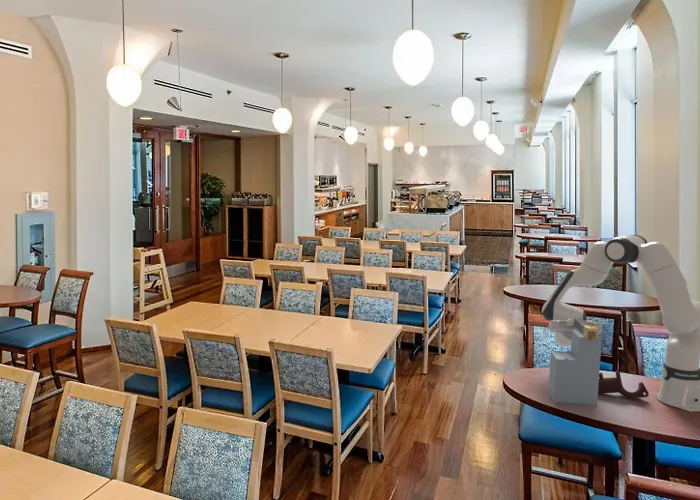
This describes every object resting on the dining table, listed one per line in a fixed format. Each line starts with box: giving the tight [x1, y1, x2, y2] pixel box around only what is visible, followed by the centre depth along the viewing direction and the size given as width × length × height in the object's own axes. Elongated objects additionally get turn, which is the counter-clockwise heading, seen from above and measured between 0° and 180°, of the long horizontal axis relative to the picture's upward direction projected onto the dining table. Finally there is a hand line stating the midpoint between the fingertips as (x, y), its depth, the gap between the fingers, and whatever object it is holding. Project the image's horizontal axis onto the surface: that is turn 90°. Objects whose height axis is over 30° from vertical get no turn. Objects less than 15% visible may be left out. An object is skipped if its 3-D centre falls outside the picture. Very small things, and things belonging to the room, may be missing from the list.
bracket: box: [598, 370, 650, 399], centre depth 202 cm, size 6×18×11 cm, turn 72°
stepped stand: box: [548, 330, 602, 406], centre depth 198 cm, size 16×10×26 cm, turn 80°
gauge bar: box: [574, 318, 599, 340], centre depth 199 cm, size 4×20×4 cm, turn 170°
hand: (579, 322), depth 206 cm, fingers closed on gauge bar, 3 cm apart
